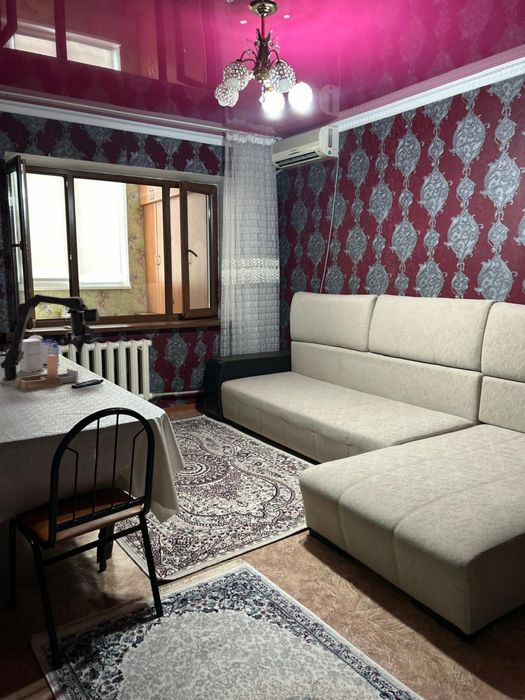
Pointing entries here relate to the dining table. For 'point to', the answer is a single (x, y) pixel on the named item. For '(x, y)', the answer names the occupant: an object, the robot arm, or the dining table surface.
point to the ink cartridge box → (49, 350)
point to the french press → (35, 335)
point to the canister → (52, 366)
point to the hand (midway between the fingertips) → (79, 352)
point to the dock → (36, 382)
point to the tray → (66, 376)
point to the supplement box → (31, 355)
